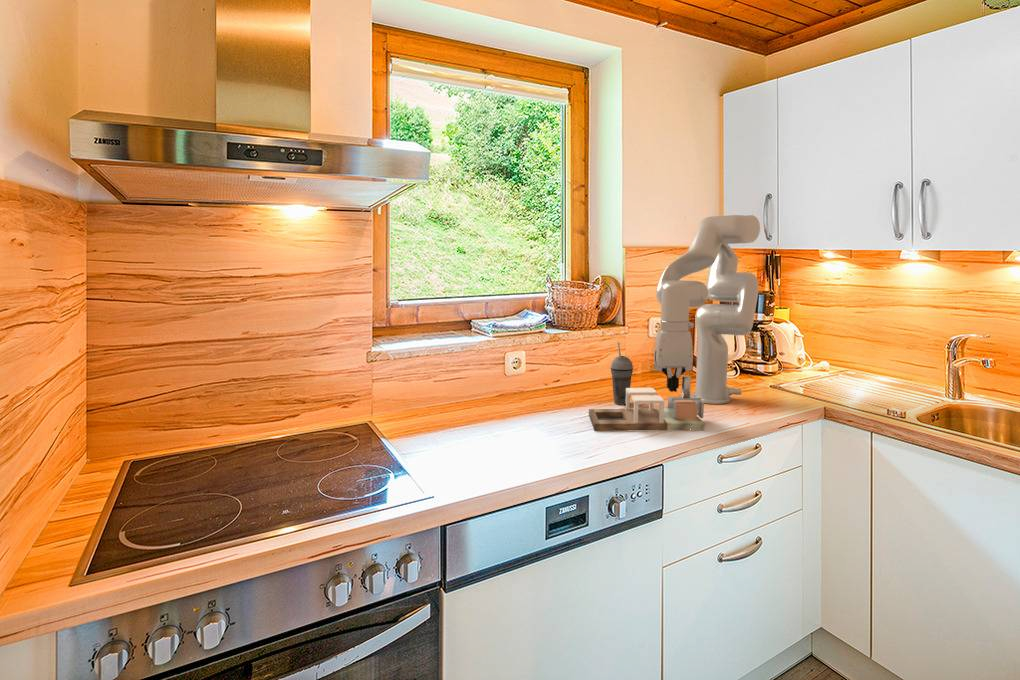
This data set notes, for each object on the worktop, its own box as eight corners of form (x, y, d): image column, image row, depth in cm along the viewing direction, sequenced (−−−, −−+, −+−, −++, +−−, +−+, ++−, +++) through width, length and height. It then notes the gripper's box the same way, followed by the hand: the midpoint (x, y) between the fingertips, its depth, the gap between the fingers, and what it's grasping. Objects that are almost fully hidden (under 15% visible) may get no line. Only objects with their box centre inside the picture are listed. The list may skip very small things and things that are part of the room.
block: (691, 412, 162) (691, 399, 162) (696, 418, 157) (697, 404, 156) (670, 413, 163) (670, 399, 162) (675, 418, 157) (675, 404, 157)
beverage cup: (630, 406, 177) (632, 344, 174) (608, 405, 179) (608, 343, 176) (634, 401, 184) (635, 341, 180) (611, 399, 186) (612, 340, 183)
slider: (695, 411, 163) (697, 373, 161) (703, 418, 156) (704, 379, 154) (667, 411, 163) (668, 374, 162) (673, 418, 156) (675, 379, 155)
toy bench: (652, 408, 167) (652, 387, 166) (663, 423, 153) (664, 400, 152) (625, 409, 168) (625, 387, 167) (634, 423, 153) (634, 400, 152)
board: (688, 415, 167) (689, 408, 167) (703, 430, 153) (704, 423, 153) (588, 415, 168) (588, 409, 168) (594, 430, 154) (594, 423, 154)
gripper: (697, 325, 159) (695, 387, 162) (644, 325, 160) (643, 387, 163) (705, 328, 152) (703, 393, 155) (650, 329, 153) (648, 394, 155)
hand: (672, 390), depth 159 cm, fingers closed
